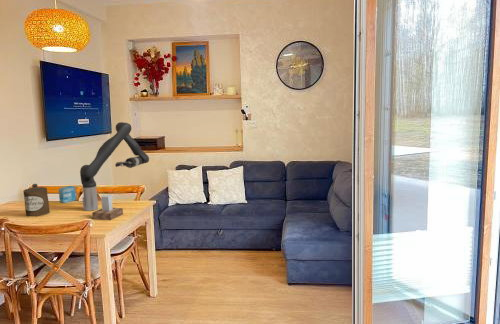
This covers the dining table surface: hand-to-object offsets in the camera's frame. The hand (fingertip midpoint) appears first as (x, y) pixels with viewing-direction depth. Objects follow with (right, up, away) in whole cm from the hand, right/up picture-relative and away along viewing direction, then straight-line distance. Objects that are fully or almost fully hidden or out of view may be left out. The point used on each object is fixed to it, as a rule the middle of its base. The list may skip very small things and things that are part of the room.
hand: (121, 165), depth 274 cm
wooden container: (-57, -35, -8) cm, 67 cm away
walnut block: (-2, -36, -19) cm, 41 cm away
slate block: (-2, -31, -20) cm, 37 cm away
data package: (-53, -30, +27) cm, 67 cm away
